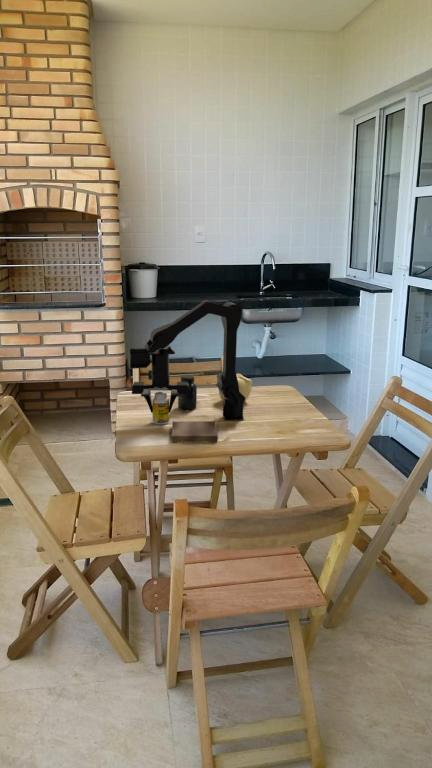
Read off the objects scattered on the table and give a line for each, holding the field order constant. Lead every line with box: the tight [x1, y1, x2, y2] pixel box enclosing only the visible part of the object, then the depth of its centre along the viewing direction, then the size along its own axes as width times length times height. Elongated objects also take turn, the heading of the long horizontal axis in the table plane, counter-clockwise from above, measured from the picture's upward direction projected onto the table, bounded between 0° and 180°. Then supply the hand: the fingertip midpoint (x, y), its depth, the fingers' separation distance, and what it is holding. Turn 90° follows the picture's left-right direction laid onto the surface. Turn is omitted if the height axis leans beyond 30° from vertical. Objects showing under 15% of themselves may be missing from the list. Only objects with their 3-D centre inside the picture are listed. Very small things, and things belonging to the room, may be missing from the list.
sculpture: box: [218, 373, 253, 403], centre depth 222 cm, size 12×12×11 cm
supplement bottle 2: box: [177, 374, 198, 412], centre depth 213 cm, size 7×7×12 cm
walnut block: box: [171, 420, 218, 443], centre depth 187 cm, size 14×14×2 cm
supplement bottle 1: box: [152, 391, 170, 425], centre depth 197 cm, size 6×6×10 cm
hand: (160, 412), depth 198 cm, fingers closed on supplement bottle 1, 5 cm apart
